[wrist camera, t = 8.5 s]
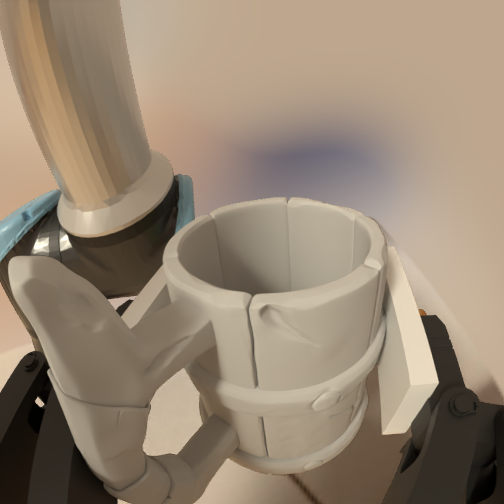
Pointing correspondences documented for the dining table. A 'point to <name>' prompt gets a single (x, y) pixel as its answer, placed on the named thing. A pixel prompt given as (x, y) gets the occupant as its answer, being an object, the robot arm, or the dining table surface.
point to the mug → (221, 345)
